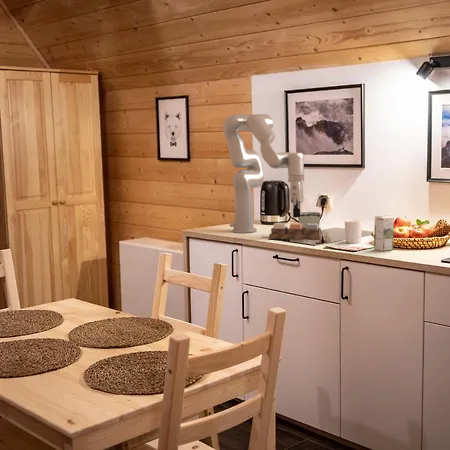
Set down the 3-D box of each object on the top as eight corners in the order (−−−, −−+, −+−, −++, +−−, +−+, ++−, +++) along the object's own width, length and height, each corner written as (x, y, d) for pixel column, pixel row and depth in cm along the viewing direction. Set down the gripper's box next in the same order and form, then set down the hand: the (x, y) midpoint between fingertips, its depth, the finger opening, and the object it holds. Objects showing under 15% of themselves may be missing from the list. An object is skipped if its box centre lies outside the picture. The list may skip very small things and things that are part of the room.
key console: (269, 238, 330) (269, 229, 329) (273, 235, 339) (273, 226, 339) (319, 239, 323) (319, 230, 322) (322, 236, 333) (322, 227, 332)
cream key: (273, 230, 331) (273, 224, 331) (275, 228, 336) (275, 222, 335) (283, 230, 330) (283, 224, 329) (285, 229, 334) (285, 223, 334)
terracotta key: (289, 230, 329) (289, 224, 329) (291, 229, 334) (291, 223, 333) (300, 230, 328) (300, 224, 327) (302, 229, 332) (302, 223, 332)
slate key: (306, 231, 327) (306, 224, 326) (308, 229, 331) (308, 223, 331) (317, 231, 325) (317, 224, 325) (318, 229, 330) (318, 223, 330)
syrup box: (384, 248, 296) (384, 215, 294) (393, 250, 290) (394, 216, 289) (373, 249, 293) (374, 216, 291) (383, 251, 288) (383, 217, 286)
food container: (320, 231, 352) (320, 211, 351) (321, 232, 346) (321, 213, 345) (296, 231, 353) (296, 211, 352) (296, 233, 347) (296, 213, 346)
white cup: (344, 241, 318) (344, 219, 317) (362, 241, 317) (362, 219, 316) (344, 243, 310) (344, 221, 309) (362, 243, 309) (362, 221, 308)
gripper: (301, 179, 319) (302, 218, 321) (306, 177, 333) (307, 215, 336) (285, 179, 321) (286, 218, 323) (291, 178, 336) (291, 215, 338)
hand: (296, 217), depth 329 cm, fingers closed
